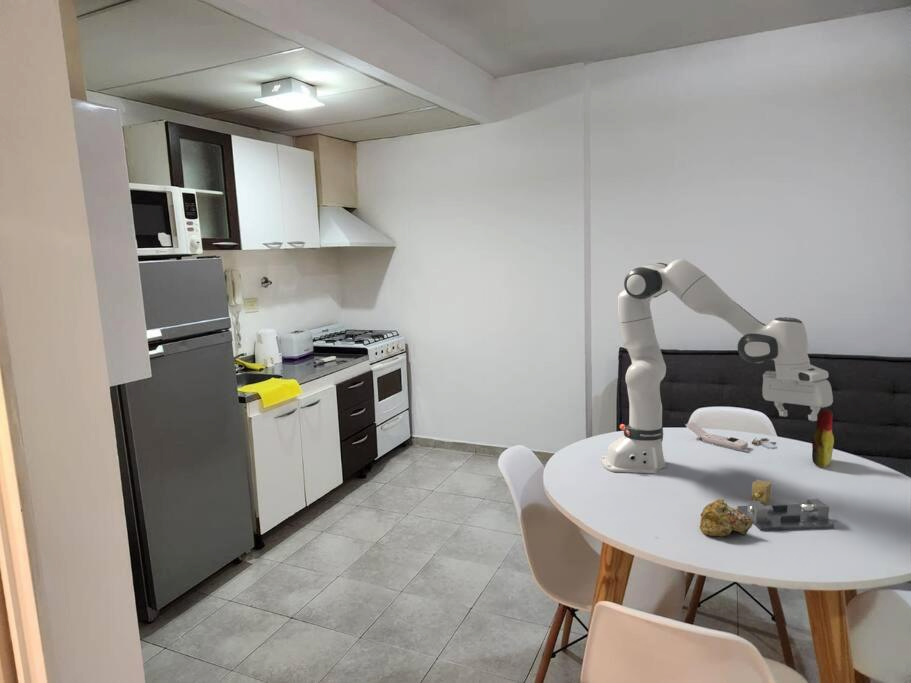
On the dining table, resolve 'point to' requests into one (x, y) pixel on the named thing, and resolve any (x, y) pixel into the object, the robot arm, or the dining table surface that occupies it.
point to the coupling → (761, 491)
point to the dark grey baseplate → (788, 515)
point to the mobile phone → (718, 439)
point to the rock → (723, 520)
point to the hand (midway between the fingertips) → (797, 418)
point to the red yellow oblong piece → (823, 439)
